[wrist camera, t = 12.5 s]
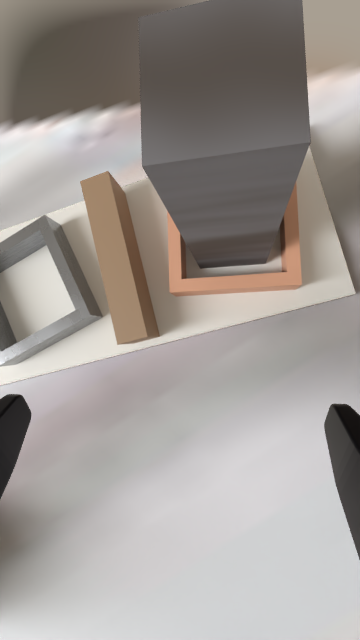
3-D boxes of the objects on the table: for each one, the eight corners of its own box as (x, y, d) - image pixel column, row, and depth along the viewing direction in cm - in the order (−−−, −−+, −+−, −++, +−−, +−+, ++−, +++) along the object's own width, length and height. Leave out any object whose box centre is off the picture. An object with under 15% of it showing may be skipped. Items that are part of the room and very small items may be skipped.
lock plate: (299, 132, 21) (312, 86, 17) (349, 295, 20) (376, 285, 16) (-33, 249, 26) (-81, 234, 22) (-8, 387, 25) (-54, 397, 21)
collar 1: (103, 317, 22) (90, 315, 20) (16, 364, 24) (-4, 367, 22) (60, 224, 23) (44, 214, 21) (-21, 274, 25) (-43, 269, 23)
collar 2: (295, 289, 20) (301, 284, 18) (176, 296, 21) (169, 292, 19) (289, 171, 20) (294, 153, 18) (172, 185, 22) (166, 171, 20)
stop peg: (265, 263, 20) (310, 142, 8) (200, 268, 21) (142, 166, 8) (262, 199, 21) (300, -21, 8) (198, 207, 21) (138, 17, 9)
